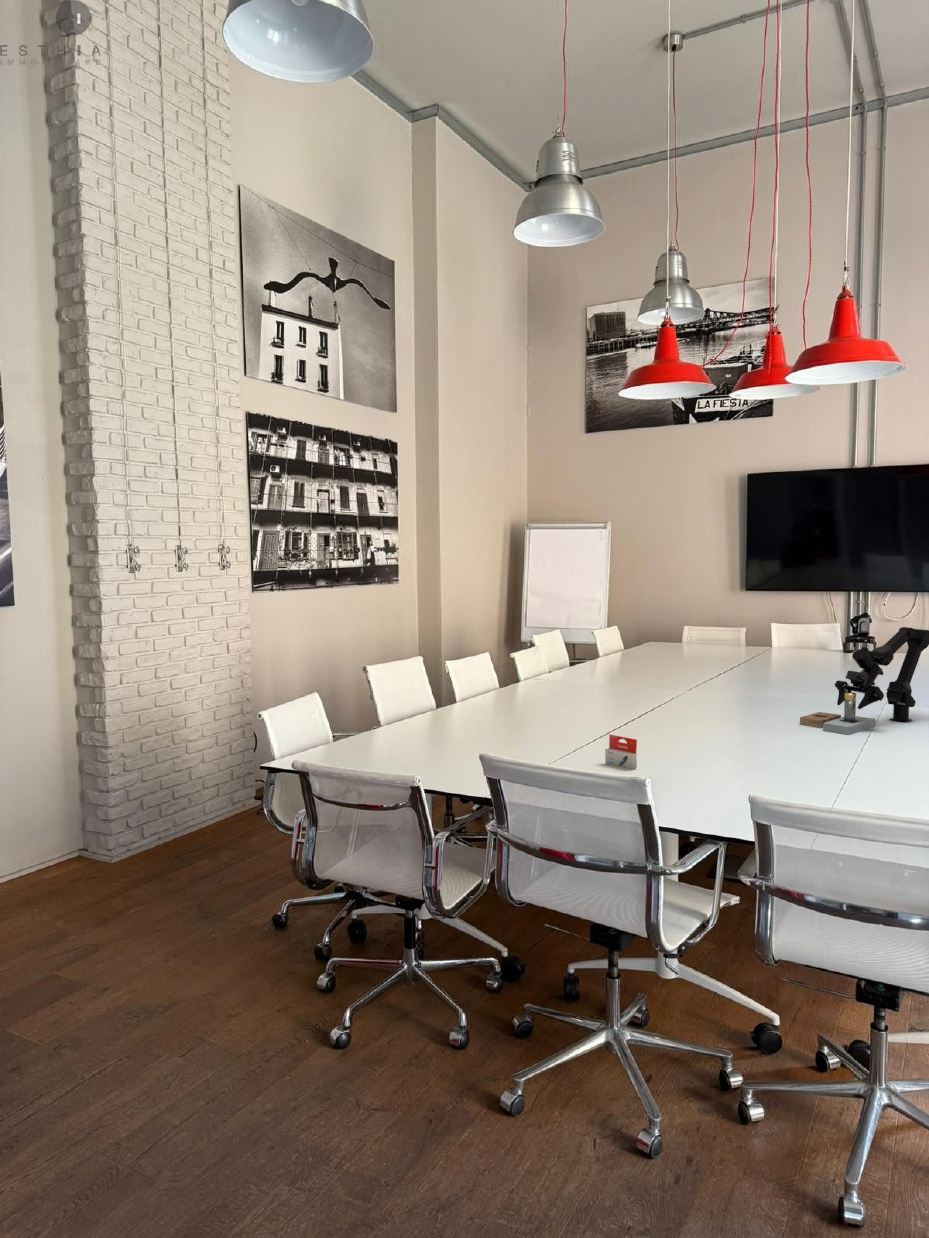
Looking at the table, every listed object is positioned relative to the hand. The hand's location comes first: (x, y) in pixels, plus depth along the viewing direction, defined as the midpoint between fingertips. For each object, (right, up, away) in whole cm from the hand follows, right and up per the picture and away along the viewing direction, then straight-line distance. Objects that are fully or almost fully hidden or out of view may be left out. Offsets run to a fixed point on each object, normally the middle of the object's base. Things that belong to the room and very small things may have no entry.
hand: (848, 706), depth 320 cm
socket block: (-6, -8, +11) cm, 15 cm away
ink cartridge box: (-98, -15, -50) cm, 111 cm away
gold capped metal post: (+1, -9, +1) cm, 9 cm away
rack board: (+1, -9, +1) cm, 9 cm away
